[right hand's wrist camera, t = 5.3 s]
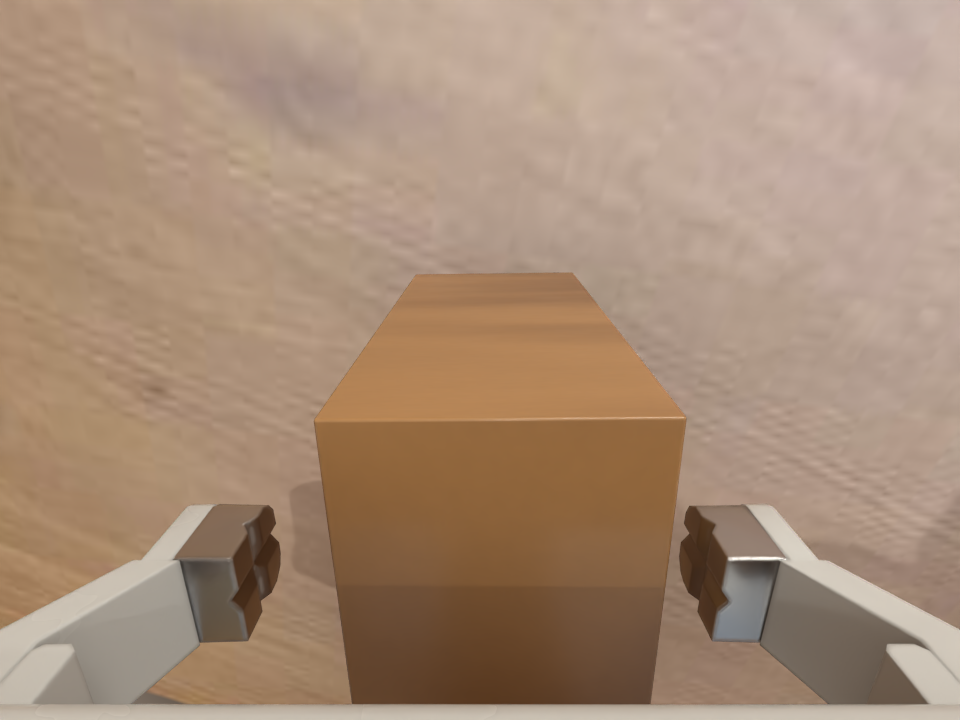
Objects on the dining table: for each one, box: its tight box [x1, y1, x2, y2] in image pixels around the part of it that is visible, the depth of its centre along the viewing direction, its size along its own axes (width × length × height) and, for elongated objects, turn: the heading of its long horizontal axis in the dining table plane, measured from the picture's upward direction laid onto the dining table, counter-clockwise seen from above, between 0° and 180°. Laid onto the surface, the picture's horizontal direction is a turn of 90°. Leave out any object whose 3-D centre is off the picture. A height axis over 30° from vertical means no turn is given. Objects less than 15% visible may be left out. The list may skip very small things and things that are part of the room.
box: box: [314, 273, 686, 704], centre depth 18 cm, size 25×6×12 cm, turn 1°
